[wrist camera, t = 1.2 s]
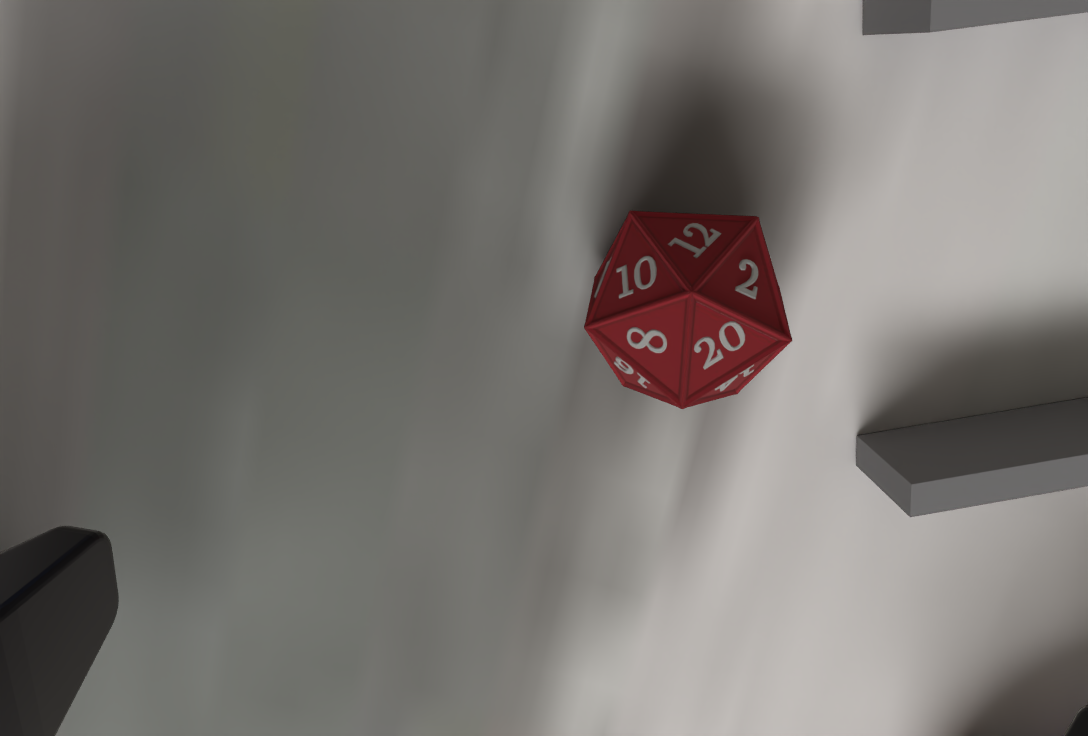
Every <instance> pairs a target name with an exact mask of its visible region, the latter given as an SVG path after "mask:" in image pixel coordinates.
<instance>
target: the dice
mask: <svg viewBox="0 0 1088 736" xmlns="http://www.w3.org/2000/svg"><path fill="white" fill-rule="evenodd" d="M584 328H585V330H586V331H587V333H588V334H589V336H590V337H591V339H592V340H593V342H594V343H595V345H596V346H597V348H598V349H599V350H600V352H601V353H602V355H603V356H604V358H605V359H606V361H607V362H608V364H609V365H610V367H611V368H612V370H613V371H614V373H615V374H616V376H617V377H618V379H619V380H620V382H621V384H622V385H623V386H624V387H627V388H630V389H633V390H635V391H638V392H640V393H643V394H646V395H648V396H651V397H653V398H656V399H658V400H661V401H664V402H666V403H669V404H671V405H674V406H676V407H679V408H681V409H684V408H687V407H690V406H694V405H698V404H701V403H705V402H709V401H712V400H716V399H720V398H723V397H727V396H731V395H735V394H738V393H739V392H740V390H741V389H742V388H743V387H744V386H745V385H747V384H748V383H749V382H750V381H751V380H752V379H753V378H754V377H755V376H756V375H757V374H758V373H759V372H760V371H761V370H762V369H763V368H764V367H765V366H766V365H767V364H768V363H769V362H770V361H771V360H772V359H774V358H775V357H776V356H777V355H778V354H779V353H780V352H781V351H782V350H783V349H784V348H785V347H786V346H787V345H788V344H789V343H790V342H791V341H792V337H791V334H790V330H789V326H788V322H787V317H786V313H785V309H784V305H783V301H782V296H781V292H780V288H779V285H778V282H777V279H776V276H775V272H774V269H773V266H772V262H771V259H770V255H769V252H768V249H767V245H766V242H765V239H764V235H763V232H762V228H761V225H760V221H759V217H757V216H737V215H714V214H690V213H667V212H643V211H629V213H628V216H627V218H626V220H625V222H624V224H623V225H622V227H621V229H620V231H619V233H618V235H617V237H616V239H615V241H614V242H613V244H612V246H611V248H610V250H609V252H608V254H607V256H606V258H605V259H604V261H603V263H602V265H601V267H600V269H599V271H598V273H597V274H596V276H595V277H594V284H593V289H592V294H591V298H590V303H589V308H588V313H587V317H586V322H585V325H584Z"/></svg>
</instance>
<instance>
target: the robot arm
mask: <svg viewBox="0 0 1088 736" xmlns="http://www.w3.org/2000/svg"><path fill="white" fill-rule="evenodd" d="M118 601H119V600H118V589H117V582H116V575H115V568H114V561H113V553H112V547H111V543H110V540H109V538H108V537H107V536H106V534H104V533H102V532H100V531H96V530H90V529H84V528H78V527H72V526H60V527H57V528H54V529H51V530H49V531H47V532H45V533H42V534H40V535H38V536H36V537H34V538H32V539H29V540H27V541H25V542H23V543H21V544H18V545H16V546H14V547H12V548H10V549H8V550H5V551H3V552H1V553H0V736H55V735H56V733H57V731H58V729H59V727H60V725H61V723H62V721H63V719H64V717H65V715H66V714H67V712H68V710H69V708H70V706H71V704H72V702H73V700H74V698H75V696H76V694H77V692H78V690H79V688H80V687H81V685H82V683H83V681H84V679H85V677H86V675H87V673H88V671H89V669H90V667H91V665H92V663H93V661H94V660H95V658H96V656H97V654H98V652H99V650H100V648H101V646H102V644H103V642H104V640H105V638H106V636H107V634H108V632H109V631H110V629H111V627H112V624H113V622H114V620H115V617H116V614H117V609H118ZM1064 736H1088V704H1087V705H1086V706H1084V707H1082V708H1081V709H1080V710H1079V712H1078V713H1077V715H1076V716H1075V718H1074V720H1073V721H1072V723H1071V725H1070V726H1069V728H1068V730H1067V731H1066V733H1065V735H1064Z"/></svg>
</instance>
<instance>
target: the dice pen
mask: <svg viewBox="0 0 1088 736" xmlns="http://www.w3.org/2000/svg"><path fill="white" fill-rule="evenodd" d="M1084 12H1088V0H863V35H875V34H900V33H925V32H936V31H944V30H952V29H960V28H968V27H975V26H983V25H991V24H999V23H1006V22H1014V21H1022V20H1030V19H1038V18H1045V17H1053V16H1061V15H1069V14H1077V13H1084ZM856 466H857V467H858V468H859V469H860V470H861V471H863V472H864V473H865V474H866V475H867V476H868V477H869V478H870V479H871V480H872V481H873V482H874V483H875V484H876V485H877V486H878V487H879V488H880V489H881V490H882V491H883V492H884V493H885V494H887V495H888V496H889V497H890V498H891V499H892V500H893V501H894V502H895V503H896V504H897V505H898V506H899V507H900V508H901V509H902V510H903V511H904V512H905V513H906V514H907V515H908V516H910V517H914V516H920V515H926V514H931V513H937V512H943V511H948V510H954V509H960V508H966V507H971V506H977V505H983V504H988V503H994V502H1000V501H1006V500H1011V499H1017V498H1023V497H1028V496H1034V495H1040V494H1045V493H1051V492H1057V491H1063V490H1068V489H1074V488H1080V487H1085V486H1088V397H1087V398H1081V399H1075V400H1069V401H1063V402H1057V403H1051V404H1045V405H1039V406H1033V407H1027V408H1020V409H1014V410H1008V411H1002V412H996V413H990V414H984V415H978V416H972V417H966V418H960V419H954V420H948V421H942V422H936V423H930V424H924V425H918V426H912V427H906V428H900V429H894V430H888V431H882V432H876V433H870V434H864V435H858V436H857V448H856Z"/></svg>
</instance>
